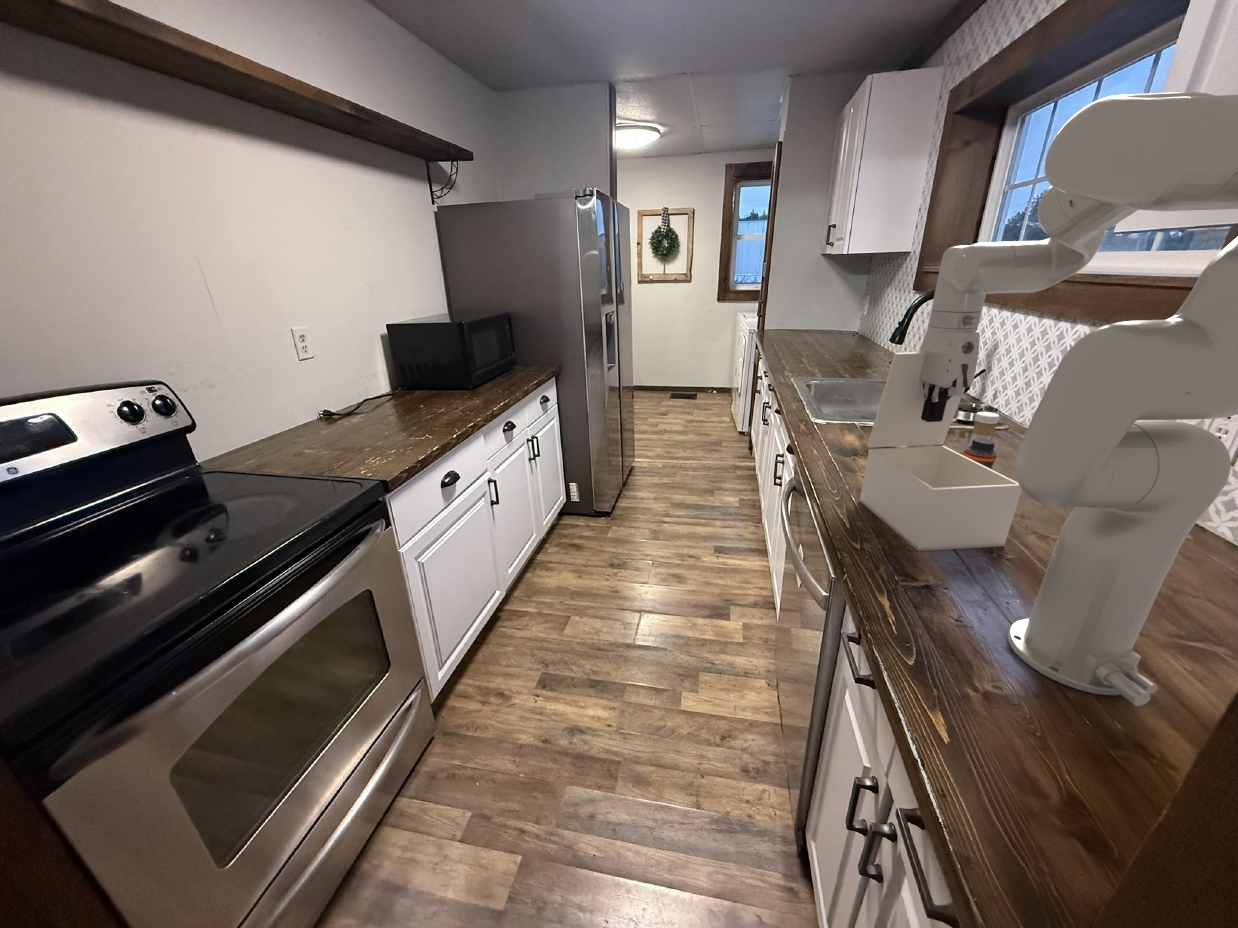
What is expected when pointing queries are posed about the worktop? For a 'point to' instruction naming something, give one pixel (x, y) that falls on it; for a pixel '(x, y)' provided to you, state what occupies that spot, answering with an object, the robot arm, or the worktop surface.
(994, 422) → the sprinkles bottle
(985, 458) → the supplement bottle
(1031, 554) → the worktop surface
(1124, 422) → the robot arm
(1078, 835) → the worktop surface
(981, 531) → the carton
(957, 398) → the lid flap
